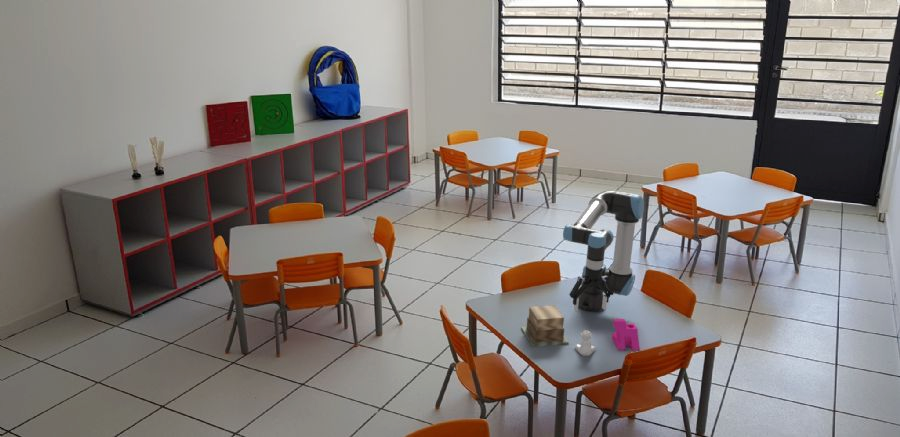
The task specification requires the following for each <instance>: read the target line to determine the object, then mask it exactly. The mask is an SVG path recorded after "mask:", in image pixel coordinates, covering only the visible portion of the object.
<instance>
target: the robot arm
mask: <svg viewBox="0 0 900 437" xmlns="http://www.w3.org/2000/svg"><path fill="white" fill-rule="evenodd" d="M644 211H645V201H644V198H643V196H642V195H639V194H636V193H629V192H624V191H620V190H619V191H618V190H611V189H610V190H604V191H602V192H600V193H598V194H596V195H595V196H593V197H591V199H590V201H589V202H588V206H587V208H586V209H585V210H584V211H583V212H582V213H581V215H580V216H579V218H578V219H576V222H574V224H566V225H565V226H564V228H563V232H562V238H563V240H565V241H567V242H571V243H576V244H580V245H585V246H587V250H586V251H587V252H586V260H585V261H586V262H585V265H584V266H583V268H582V272H581V276H577V279H576V282H575V284H574V286H573V288H571V290H570V292H569V294H568V295H569V296H570V298H572V304H573V310H574V311H575V313H578V310H579V309H581V310H583V311H587V312H600V311H606V310H607V304H608V303H609V301H610V300H609V299H610V297H611V296H614V295H618V296H625V297H627V296H629V295H630V293H631V292H632V290H633V287H634V284H635V282H636V275H635V274H633V269H632V268H631V261H632V252H633V245H634V237H635V228H636V224H637V223H639V220H641V219H643V216H644ZM605 214H612V215H615V216H614V219H615V221H616V222H617V225H616V232H615V234H616V235H615V242H614V252H613V260H612V265H610V266H609V268H607V265H606V264H604V260H605V252H606V250H607V249H608V248H609V247H610V246H611V245H612V243H613V241H614V234H613V232H612V231H611V230H610V229H608V228H603V229H600V230H598V229H594V228H593V227H594V225H595V224H596V223H597V221H598V220H599V218H600V217H601V216H604V215H605Z"/></svg>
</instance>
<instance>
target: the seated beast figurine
mask: <svg viewBox="0 0 900 437" xmlns="http://www.w3.org/2000/svg"><path fill="white" fill-rule="evenodd" d="M579 336H580V337H581V338H582V340H581V342H580V344H575V345H574V346H575V351H577V352H578V353H579V354H580V355H581V356H583V357H590V356H591V355H592V354H593V353H594V352H595V350H596V346H594V345H592V340H591V338H592V337H593V336H594V335H593V333H591V331H590V330H583V331H582V332H581V333H579Z"/></svg>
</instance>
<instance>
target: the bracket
mask: <svg viewBox="0 0 900 437" xmlns="http://www.w3.org/2000/svg"><path fill="white" fill-rule="evenodd" d="M612 322H613V325H612V326H613V328H614V329H615V332H612V333H611V339H612V341H613V343H614V345H615V347H616V348H617V351H626V346H629V347H630V348H631V350H632V351H640V349H641V348H640V341H639V330H638V328H637V326H636V324H635V323H627V321H626V319H625V318H613V321H612Z"/></svg>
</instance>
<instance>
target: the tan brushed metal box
mask: <svg viewBox="0 0 900 437" xmlns="http://www.w3.org/2000/svg"><path fill="white" fill-rule="evenodd" d="M528 307H529V309H528V317H527V319H526V326H521V330H522V332H523V334H524V335H525V337H526V338H527V340H528V342H529V344H530V345H531V347H532V348H536V347H538V348H539V347H546V346H547V347H549V346H550V347H551V346H559V345H561V346H562V345H569V344H570V342H569V340H568V339H567V337H566V336H565V327H564V324H565V323H564V320H565V316H563V314H562V313H561V312H560V310H559V309H558V307H557V306H556V305H555V304H553V305H552V304H550V305H541V306H540V305H539V306H538V305H536V306H528Z"/></svg>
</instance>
